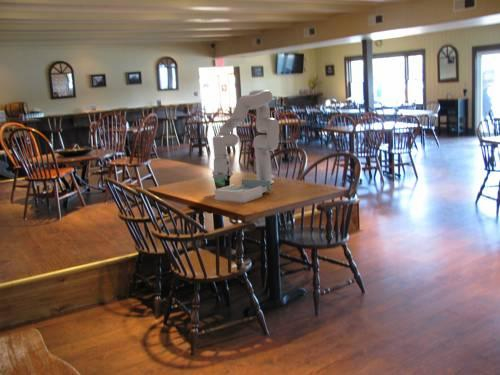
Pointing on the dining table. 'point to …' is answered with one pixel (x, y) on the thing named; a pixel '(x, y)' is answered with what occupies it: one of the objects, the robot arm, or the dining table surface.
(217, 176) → the food container
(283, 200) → the dining table surface
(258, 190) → the shallow white open box
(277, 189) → the dining table surface
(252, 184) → the tray
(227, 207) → the dining table surface
